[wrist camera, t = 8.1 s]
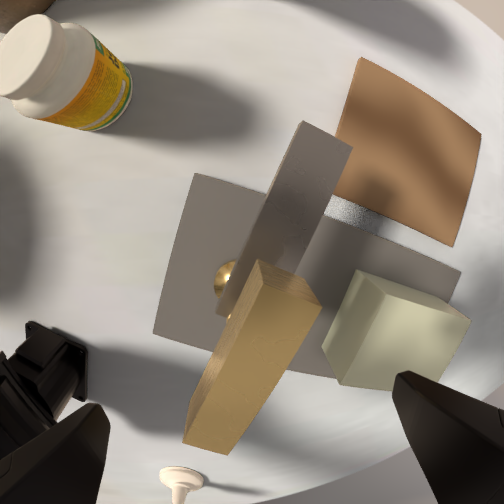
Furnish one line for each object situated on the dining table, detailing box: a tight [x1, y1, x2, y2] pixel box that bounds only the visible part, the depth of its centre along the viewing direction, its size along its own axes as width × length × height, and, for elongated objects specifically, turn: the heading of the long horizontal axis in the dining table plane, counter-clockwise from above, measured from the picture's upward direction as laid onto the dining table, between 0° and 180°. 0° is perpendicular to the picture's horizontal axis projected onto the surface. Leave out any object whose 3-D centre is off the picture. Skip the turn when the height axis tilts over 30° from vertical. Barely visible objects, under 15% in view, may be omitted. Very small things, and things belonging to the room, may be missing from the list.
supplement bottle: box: [0, 14, 133, 131], centre depth 12 cm, size 5×5×10 cm
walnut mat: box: [333, 57, 481, 247], centre depth 18 cm, size 10×12×1 cm
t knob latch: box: [182, 121, 353, 455], centre depth 13 cm, size 3×12×10 cm, turn 156°
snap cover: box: [321, 269, 472, 391], centre depth 18 cm, size 6×8×4 cm
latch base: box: [153, 173, 461, 379], centre depth 20 cm, size 11×21×1 cm, turn 72°
